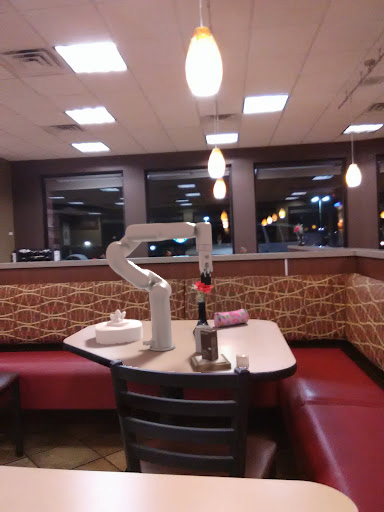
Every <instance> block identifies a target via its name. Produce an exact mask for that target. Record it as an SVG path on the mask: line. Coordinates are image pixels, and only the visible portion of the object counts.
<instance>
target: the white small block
mask: <svg viewBox="0 0 384 512" xmlns="http://www.w3.org/2000/svg"><path fill="white" fill-rule="evenodd" d="M249 357H250V356H249V354H247V353H238V354H236V355H235V359H236V361H235V362H236V363H235V364H236V365H235V366H236V368H237V367H246V369H248V367H249V368H250V358H249Z"/></svg>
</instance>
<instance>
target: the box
mask: <svg viewBox="0 0 384 512" xmlns="http://www.w3.org/2000/svg"><path fill="white" fill-rule="evenodd" d="M200 335H201V353H200V354H201V356H202V359H206V360H210V361H214V360H217V359H218V354H219V347H218V346H219V343H218V341H219V340H218V330H217V329H213V328H210V329H207V328H206V329H203V330H200Z"/></svg>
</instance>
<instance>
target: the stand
mask: <svg viewBox="0 0 384 512" xmlns="http://www.w3.org/2000/svg"><path fill="white" fill-rule="evenodd" d="M190 362H191V364H192V366H193V369H194V371H195V372H196V373H199V372H200V373H201V372H212V371H219V370H220V371H221V370H222V371H223V370H229V369H230V370H231V369H232V363H231V362H230V361H229V360H228V358H227V356H225V354H223V353H218V359H217V360H214V361H210V360H206V359H202V355H197V356H196V355H195V356H190Z"/></svg>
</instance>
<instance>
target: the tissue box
mask: <svg viewBox="0 0 384 512" xmlns="http://www.w3.org/2000/svg"><path fill="white" fill-rule="evenodd" d="M126 314H127V312H126V311H125V310H124V311H122V312H121V310H120V309H118V308H117V309H116V310H115V312H114V313H110V314H109V318H110V320H109V321H103V322H99V323H97V324H95V325H94V331H95V342H96V344H98V343H100V344H99V345H116V344H115V343H118V344H126V343H125V342H127V343H133V341H134V342H137V340H138V341H141V340H142V339H143V338H144V330H143V323H142V322H141V321H140V320H137V319H126V318H125V317H126ZM140 339H141V340H140Z"/></svg>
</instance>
